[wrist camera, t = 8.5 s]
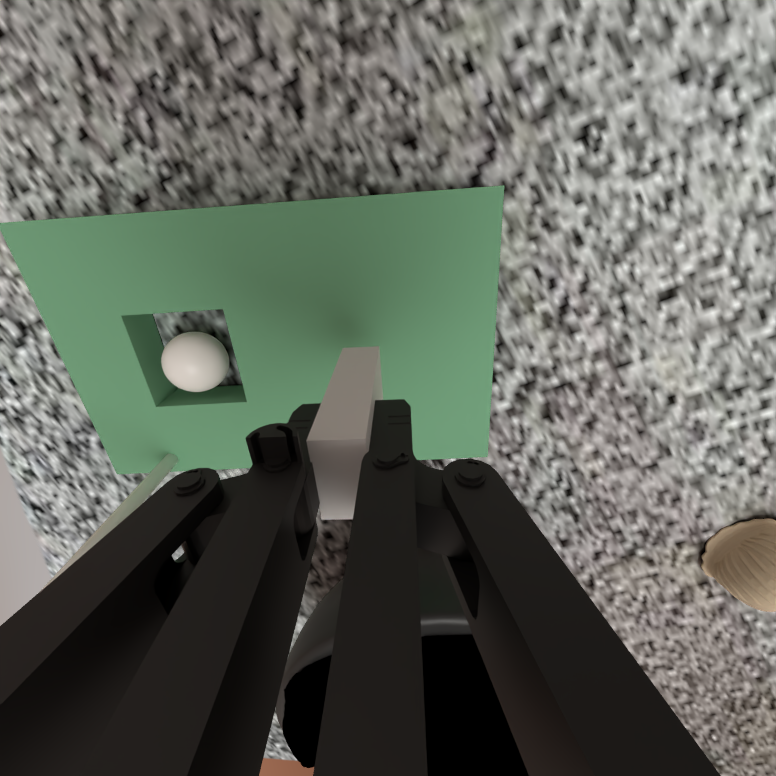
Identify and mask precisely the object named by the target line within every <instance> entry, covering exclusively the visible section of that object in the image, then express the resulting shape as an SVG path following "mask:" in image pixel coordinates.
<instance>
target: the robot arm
mask: <svg viewBox="0 0 776 776" xmlns="http://www.w3.org/2000/svg"><path fill="white" fill-rule="evenodd" d="M288 421H289V422H287V423H274V424H268V425H265V426H262V427H259V428H257V429H256V430H254V431H252V432H251V433H250V434H249V435H248V436H247V437H246V438H245V439H246V442H247V446H248V450H249V453H250V457H251V460H252V464H253V465H252V466H251V468H250V470H249V472H248V473H246V474H243V475H240V476H236V477H232V478H228V479H223V480H220V477H219V475H218V473H217V472H216V471H215V470H213V469H210V468H196V469H191V470H188V471H186V472H183V473H181V474H179V475H177V476H175V477H174V478H173V479H171V480H170V481H168V482H167V483H166V484H165V485H164V486H162V487H161V488H160V489H159V490H158V491H157V492H155V493H154V494H153V495H152V496H151V497H150V498H148V499H147V500H146V501H145V502H144V503H143V504H142V505H140V506H139V507H138V508H137V509H136V510H135V511H133V512H132V513H131V514H130V515H129V516H128V517H126V518H125V519H124V520H123V521H122V522H121V523H119V524H118V525H117V526H116V527H115V528H114V529H112V530H111V531H110V532H109V533H108V534H107V535H106V536H104V537H103V538H102V539H101V540H100V541H99V542H97V543H96V544H95V545H94V546H93V547H92V548H90V549H89V550H88V551H87V552H86V553H85V554H83V555H82V556H81V557H80V558H79V559H78V560H76V561H75V562H74V563H73V564H72V565H71V566H70V567H68V568H67V569H66V570H65V571H64V572H63V573H61V574H60V575H59V576H58V577H57V578H56V579H54V580H53V581H52V582H51V583H50V584H49V585H47V586H46V587H45V588H44V589H43V590H42V591H41V592H39V593H38V594H37V595H36V596H35V597H34V598H32V599H31V600H30V601H29V602H28V603H27V604H25V605H24V606H23V607H22V608H21V609H20V610H18V611H17V612H16V613H15V614H14V615H13V616H12V617H10V618H9V619H8V620H7V621H6V622H5V623H3V624H2V625H1V626H0V776H259V773H260V769H261V764H262V760H263V756H264V752H265V748H266V744H267V740H268V736H269V732H270V728H271V724H272V720H273V715H274V711H275V707H276V703H277V699H278V695H279V691H280V687H281V683H282V679H283V675H284V671H285V666H286V662H287V658H288V654H289V650H290V646H291V642H292V638H293V634H294V630H295V626H296V622H297V617H298V613H299V609H300V605H301V601H302V597H303V593H304V589H305V585H306V581H307V577H308V573H309V568H310V564H311V560H312V556H313V552H314V548H315V544H316V540H317V536H318V528H317V523H316V516H317V512H318V508H319V509H320V514H321V519H322V520H338V519H353V521H352V527H351V534H350V540H349V547H348V553H347V560H346V566H345V573H344V579H343V586H342V592H341V599H340V605H339V612H338V618H337V625H336V631H335V638H334V644H333V651H332V657H331V664H330V670H329V676H328V683H327V689H326V696H325V702H324V709H323V715H322V722H321V728H320V735H319V741H318V748H317V754H316V761H315V767H314V774H313V776H428V775H427V752H426V730H425V707H424V685H423V663H422V640H421V618H420V595H419V573H418V550H417V547H418V548H421V549H425V550H428V551H432V552H435V553H439V554H442V558H443V561H444V564H445V566H446V569H447V571H448V574H449V576H450V579H451V581H452V584H453V586H454V589H455V591H456V594H457V596H458V599H459V601H460V604H461V606H462V609H463V611H464V614H465V616H466V619H467V621H468V624H469V627H470V629H471V632H472V634H473V637H474V639H475V642H476V644H477V647H478V649H479V652H480V654H481V657H482V659H483V662H484V664H485V667H486V669H487V672H488V674H489V677H490V679H491V682H492V684H493V687H494V689H495V692H496V694H497V697H498V699H499V702H500V704H501V707H502V709H503V712H504V714H505V717H506V719H507V722H508V724H509V727H510V729H511V732H512V734H513V737H514V739H515V742H516V744H517V747H518V749H519V752H520V754H521V757H522V759H523V762H524V764H525V767H526V769H527V772H528V774H529V776H720V774H719V773H718V772H717V770H716V769H715V767H714V766H713V765H712V763H711V762H710V761H709V759H708V758H707V757H706V755H705V754H704V753H703V751H702V750H701V748H700V747H699V746H698V744H697V743H696V742H695V740H694V739H693V738H692V736H691V735H690V733H689V732H688V731H687V729H686V728H685V727H684V725H683V724H682V723H681V721H680V720H679V719H678V717H677V716H676V714H675V713H674V712H673V710H672V709H671V708H670V706H669V705H668V704H667V702H666V701H665V700H664V698H663V697H662V695H661V694H660V693H659V691H658V690H657V689H656V687H655V686H654V685H653V683H652V682H651V680H650V679H649V678H648V676H647V675H646V674H645V672H644V671H643V670H642V668H641V667H640V666H639V664H638V663H637V661H636V660H635V659H634V657H633V656H632V655H631V653H630V652H629V651H628V649H627V648H626V647H625V645H624V644H623V642H622V641H621V640H620V638H619V637H618V636H617V634H616V633H615V632H614V630H613V629H612V627H611V626H610V625H609V623H608V622H607V621H606V619H605V618H604V617H603V615H602V614H601V613H600V611H599V610H598V608H597V607H596V606H595V604H594V603H593V602H592V600H591V599H590V598H589V596H588V595H587V594H586V592H585V591H584V589H583V588H582V587H581V585H580V584H579V583H578V581H577V580H576V579H575V577H574V576H573V574H572V573H571V572H570V570H569V569H568V568H567V566H566V565H565V564H564V562H563V561H562V560H561V558H560V557H559V555H558V554H557V553H556V551H555V550H554V549H553V547H552V546H551V545H550V543H549V542H548V541H547V539H546V538H545V536H544V535H543V534H542V532H541V531H540V530H539V528H538V527H537V526H536V524H535V523H534V521H533V520H532V519H531V517H530V516H529V515H528V513H527V512H526V511H525V509H524V508H523V507H522V505H521V504H520V502H519V501H518V500H517V498H516V497H515V496H514V494H513V493H512V492H511V490H510V489H509V488H508V486H507V485H506V483H505V482H504V481H503V479H502V478H501V477H500V475H499V474H498V473H497V471H496V470H495V469H494V468H492V467H491V466H490V465H489V464H486V463H484V462H482V461H479V460H474V459H459V460H456V461H453V462H451V463H449V464H448V465H447V466H446V467H445V468H444V470H438V469H434V468H431V467H428V466H426V465H424V464H422V463H420V462H419V461H418V460H417V459H416V458H415V456H414V453H413V444H412V424H411V406H410V405H409V404H408V403H407V402H406V401H405V399H394V400H383V390H382V377H381V363H380V350H379V346H374V347H352V348H343V349H342V351H341V354H340V356H339V359H338V362H337V364H336V367H335V369H334V372H333V374H332V377H331V379H330V382H329V384H328V387H327V390H326V392H325V395H324V397H323V400H322V402H321V403H315V404H302V405H301V406H300V407H298V408H297V409H296V410H295V411H293V413H292V415H291V417H290V418H289V420H288ZM180 545H181V546H182V548H183V550H184V553H183V555H182V556H181V557H179V558H178V559H177V560H176V561H174V560H173V558H172V556H171V555H172V554H173V553H174V552H175V551H176V550H177V549H178V548H179V546H180Z"/></svg>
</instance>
